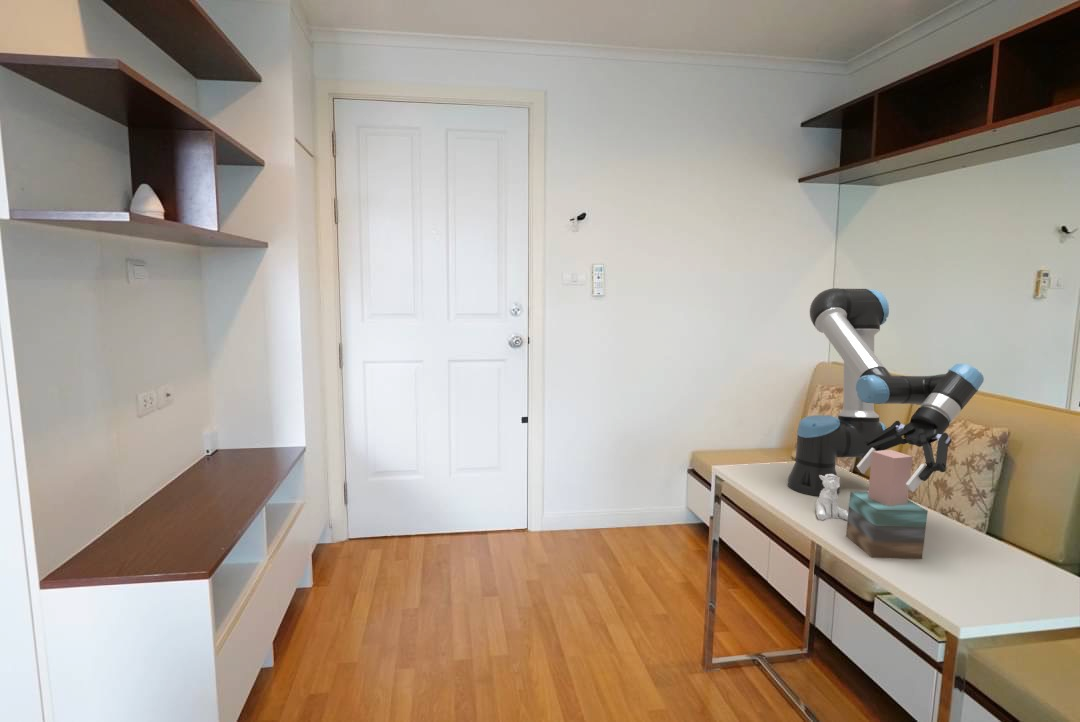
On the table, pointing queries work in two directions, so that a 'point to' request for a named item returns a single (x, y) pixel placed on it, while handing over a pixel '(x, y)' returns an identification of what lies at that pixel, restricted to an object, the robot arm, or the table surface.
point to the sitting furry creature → (829, 499)
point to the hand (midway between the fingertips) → (883, 478)
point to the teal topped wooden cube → (886, 527)
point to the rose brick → (889, 477)
